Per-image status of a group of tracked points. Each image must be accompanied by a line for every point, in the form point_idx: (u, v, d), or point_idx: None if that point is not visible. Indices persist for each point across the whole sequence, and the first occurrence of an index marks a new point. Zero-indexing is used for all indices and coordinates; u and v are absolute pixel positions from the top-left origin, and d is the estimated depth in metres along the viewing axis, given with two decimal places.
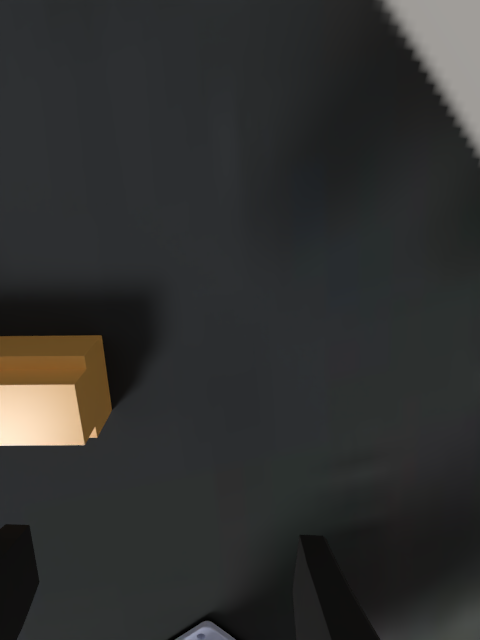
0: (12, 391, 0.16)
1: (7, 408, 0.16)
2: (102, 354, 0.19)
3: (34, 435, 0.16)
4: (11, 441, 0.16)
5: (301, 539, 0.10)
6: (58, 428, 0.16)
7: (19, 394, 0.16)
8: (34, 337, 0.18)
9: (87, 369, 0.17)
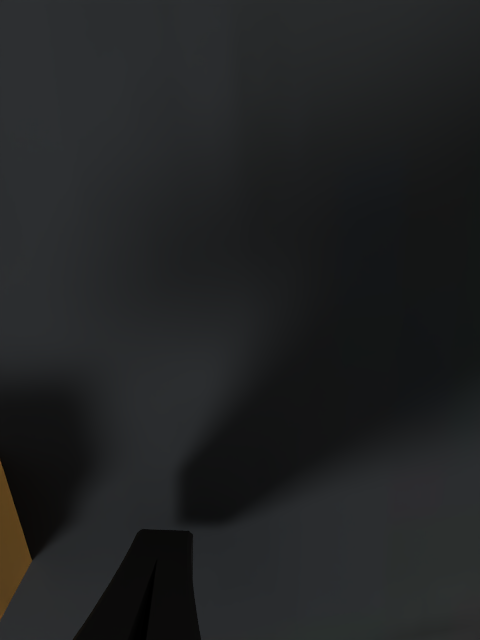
0: None
1: None
2: (1, 482, 0.11)
3: None
4: None
5: (164, 534, 0.10)
6: None
7: None
8: None
9: None
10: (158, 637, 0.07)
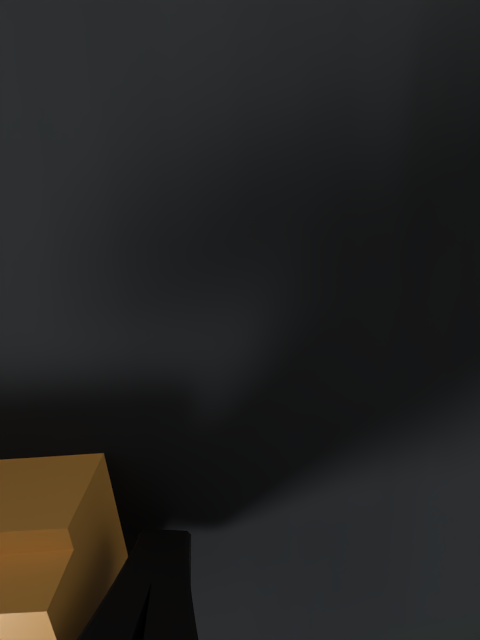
0: None
1: None
2: (104, 490, 0.11)
3: None
4: None
5: (162, 534, 0.10)
6: None
7: None
8: None
9: (75, 548, 0.09)
10: (155, 637, 0.07)
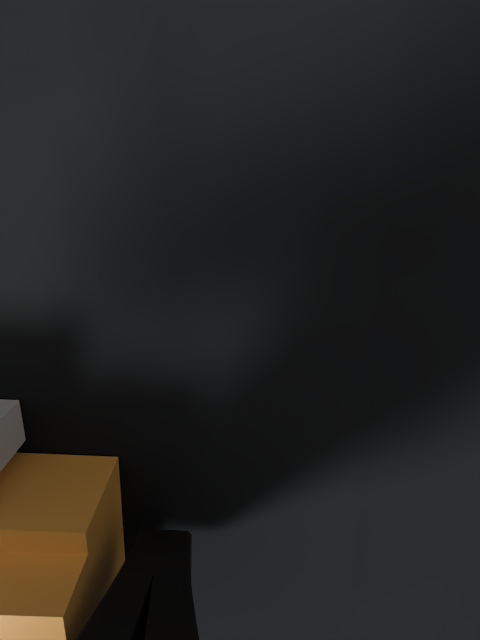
0: None
1: None
2: (115, 494, 0.11)
3: None
4: None
5: (162, 534, 0.10)
6: None
7: None
8: None
9: (89, 553, 0.09)
10: (156, 637, 0.07)
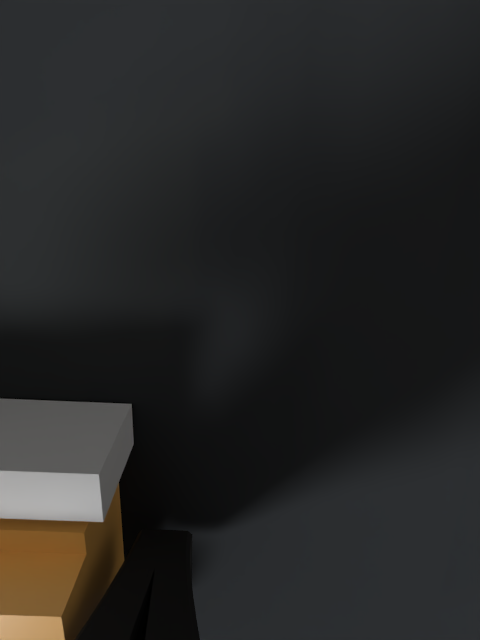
0: None
1: None
2: (114, 494, 0.11)
3: None
4: None
5: (163, 534, 0.10)
6: None
7: None
8: None
9: (87, 553, 0.09)
10: (157, 637, 0.07)
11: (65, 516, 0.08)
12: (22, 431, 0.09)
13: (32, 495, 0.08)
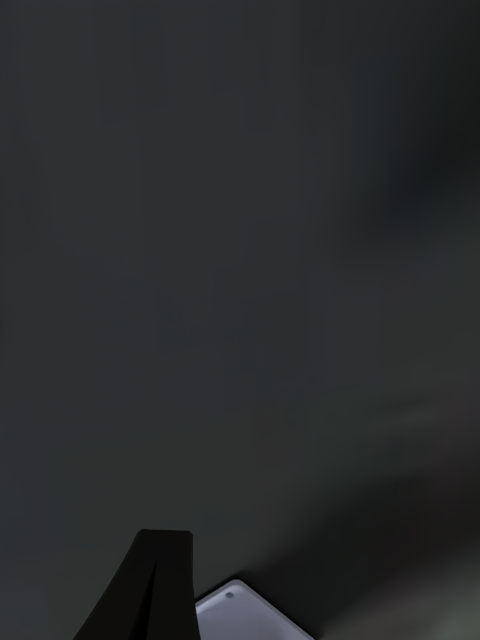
0: None
1: None
2: None
3: None
4: None
5: (164, 534, 0.10)
6: None
7: None
8: None
9: None
10: (158, 637, 0.07)
11: None
12: None
13: None
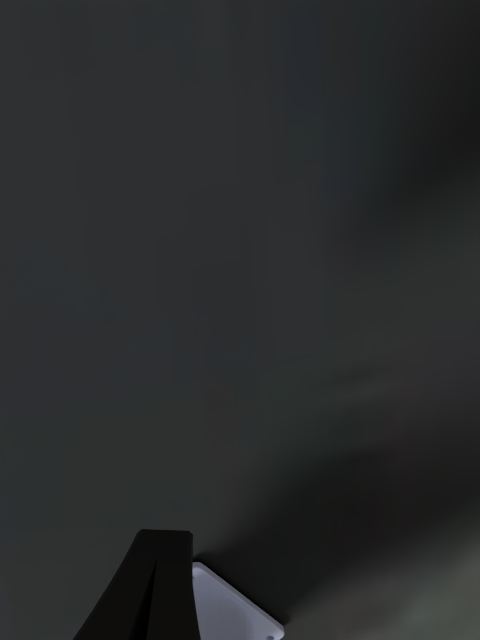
0: None
1: None
2: None
3: None
4: None
5: (164, 534, 0.10)
6: None
7: None
8: None
9: None
10: (158, 637, 0.07)
11: None
12: None
13: None
